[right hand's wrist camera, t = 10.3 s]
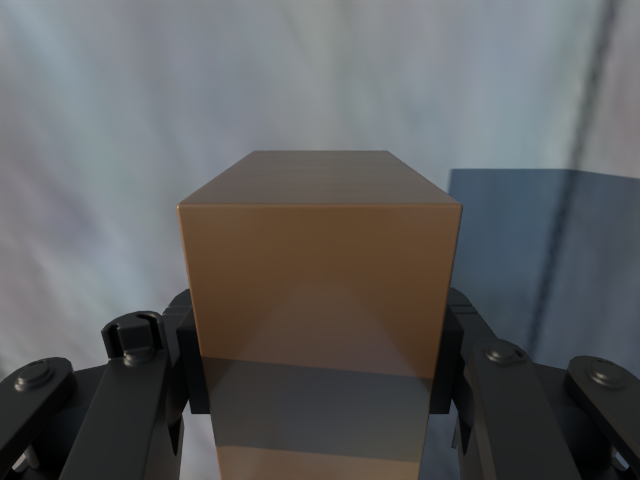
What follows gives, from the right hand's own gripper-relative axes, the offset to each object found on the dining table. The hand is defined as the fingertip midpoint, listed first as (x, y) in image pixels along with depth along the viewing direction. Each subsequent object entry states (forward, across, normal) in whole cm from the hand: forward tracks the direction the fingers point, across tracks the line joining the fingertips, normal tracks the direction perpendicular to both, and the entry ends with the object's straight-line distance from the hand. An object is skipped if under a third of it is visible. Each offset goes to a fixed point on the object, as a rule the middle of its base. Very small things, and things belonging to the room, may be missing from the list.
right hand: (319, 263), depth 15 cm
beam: (+1, 0, -25) cm, 25 cm away
